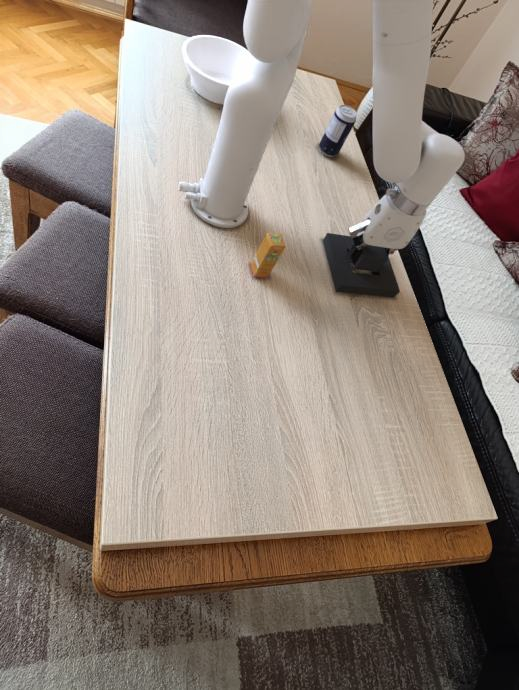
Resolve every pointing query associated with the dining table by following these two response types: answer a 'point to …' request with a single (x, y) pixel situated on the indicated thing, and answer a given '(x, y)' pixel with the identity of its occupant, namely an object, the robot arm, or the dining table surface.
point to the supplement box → (267, 255)
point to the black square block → (370, 258)
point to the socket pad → (355, 282)
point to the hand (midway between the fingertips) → (364, 258)
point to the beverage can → (338, 130)
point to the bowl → (212, 64)
